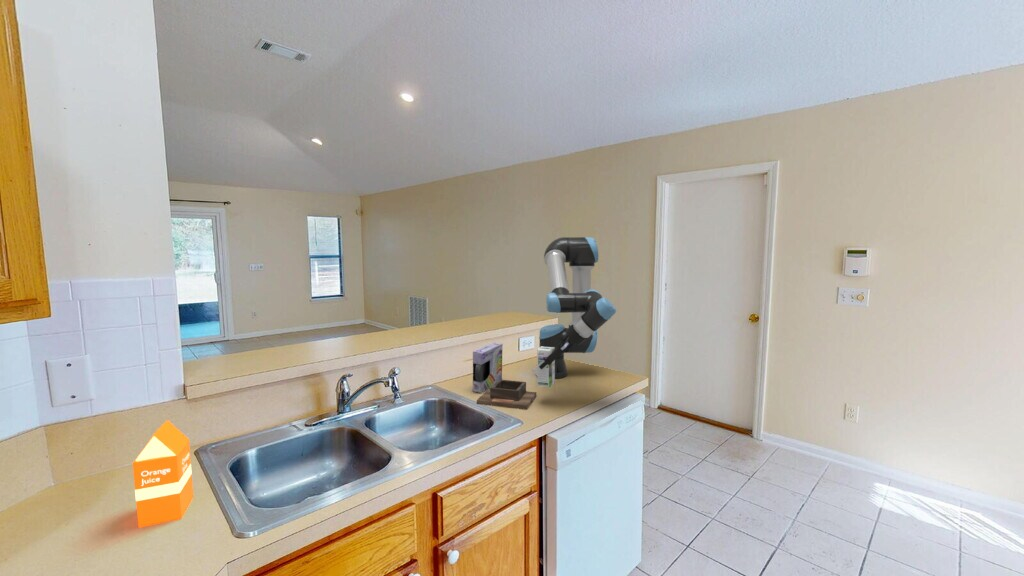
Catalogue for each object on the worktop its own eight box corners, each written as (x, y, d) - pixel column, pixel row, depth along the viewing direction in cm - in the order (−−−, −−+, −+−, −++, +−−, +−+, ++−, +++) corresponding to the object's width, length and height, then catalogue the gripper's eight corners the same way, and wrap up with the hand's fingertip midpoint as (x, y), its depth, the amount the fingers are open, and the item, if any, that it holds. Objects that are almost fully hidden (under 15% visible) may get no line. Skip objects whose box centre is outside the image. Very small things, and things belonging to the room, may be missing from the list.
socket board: (490, 391, 174) (489, 378, 173) (536, 395, 168) (536, 382, 167) (476, 403, 159) (476, 389, 159) (527, 409, 154) (527, 395, 153)
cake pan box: (480, 394, 170) (480, 352, 168) (470, 392, 172) (470, 350, 170) (503, 381, 187) (503, 342, 185) (493, 379, 189) (493, 341, 187)
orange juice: (137, 528, 89) (129, 438, 87) (153, 504, 97) (146, 422, 95) (182, 518, 92) (175, 431, 90) (194, 496, 100) (188, 416, 98)
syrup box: (536, 386, 159) (536, 349, 157) (541, 381, 164) (541, 345, 162) (551, 387, 157) (551, 350, 155) (555, 382, 162) (555, 346, 161)
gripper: (583, 344, 145) (537, 385, 151) (589, 333, 163) (548, 370, 169) (568, 329, 146) (523, 370, 152) (576, 319, 164) (535, 356, 170)
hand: (536, 370), depth 161 cm, fingers closed on syrup box, 6 cm apart
